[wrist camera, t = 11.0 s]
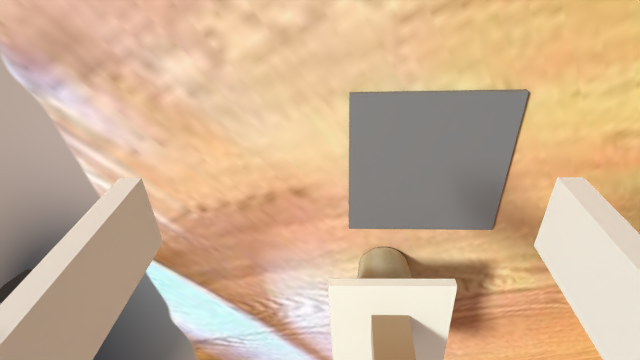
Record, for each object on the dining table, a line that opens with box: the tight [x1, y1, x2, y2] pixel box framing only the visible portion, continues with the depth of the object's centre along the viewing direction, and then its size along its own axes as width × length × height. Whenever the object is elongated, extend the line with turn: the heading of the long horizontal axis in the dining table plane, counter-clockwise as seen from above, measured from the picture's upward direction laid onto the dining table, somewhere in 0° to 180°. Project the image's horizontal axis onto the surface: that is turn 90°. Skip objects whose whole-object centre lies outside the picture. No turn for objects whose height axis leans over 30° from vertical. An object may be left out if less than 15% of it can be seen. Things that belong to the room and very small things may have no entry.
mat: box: [349, 90, 529, 230], centre depth 42 cm, size 17×17×1 cm
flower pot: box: [357, 247, 413, 279], centre depth 47 cm, size 9×9×9 cm
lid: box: [328, 279, 457, 360], centre depth 40 cm, size 13×13×8 cm
